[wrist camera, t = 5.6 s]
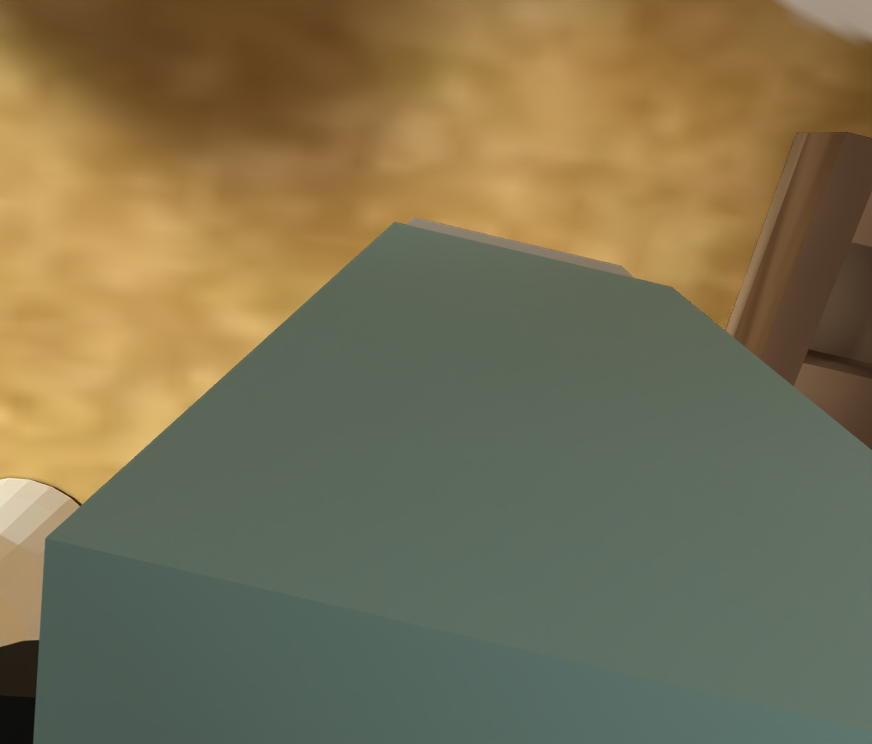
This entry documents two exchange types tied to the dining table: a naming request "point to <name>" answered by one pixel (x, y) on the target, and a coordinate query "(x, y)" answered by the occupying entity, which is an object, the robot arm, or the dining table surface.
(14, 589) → the cup
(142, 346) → the dining table surface
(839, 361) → the brown wooden slotted block
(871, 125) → the dining table surface
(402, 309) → the long teal block
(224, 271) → the dining table surface
